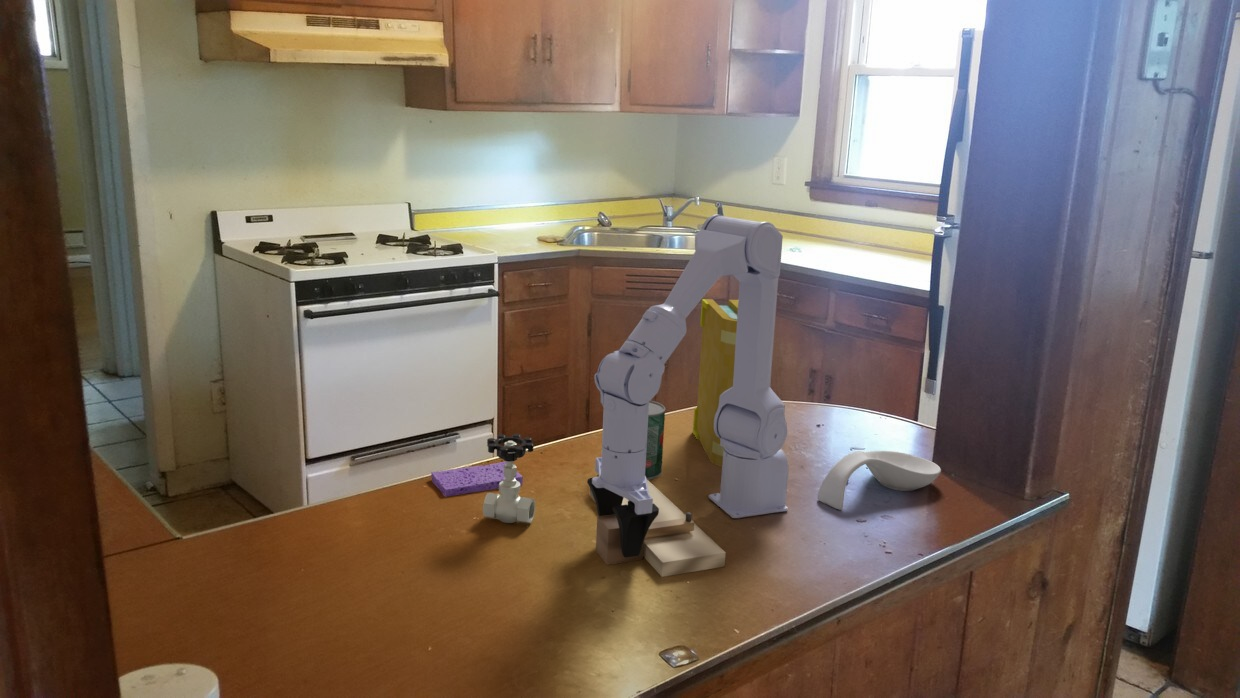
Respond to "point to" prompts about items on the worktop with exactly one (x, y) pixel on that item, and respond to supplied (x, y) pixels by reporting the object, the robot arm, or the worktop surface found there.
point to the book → (714, 371)
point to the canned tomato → (655, 440)
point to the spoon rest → (878, 473)
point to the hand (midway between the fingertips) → (619, 542)
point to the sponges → (470, 479)
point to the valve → (509, 482)
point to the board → (678, 543)
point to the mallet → (611, 543)
